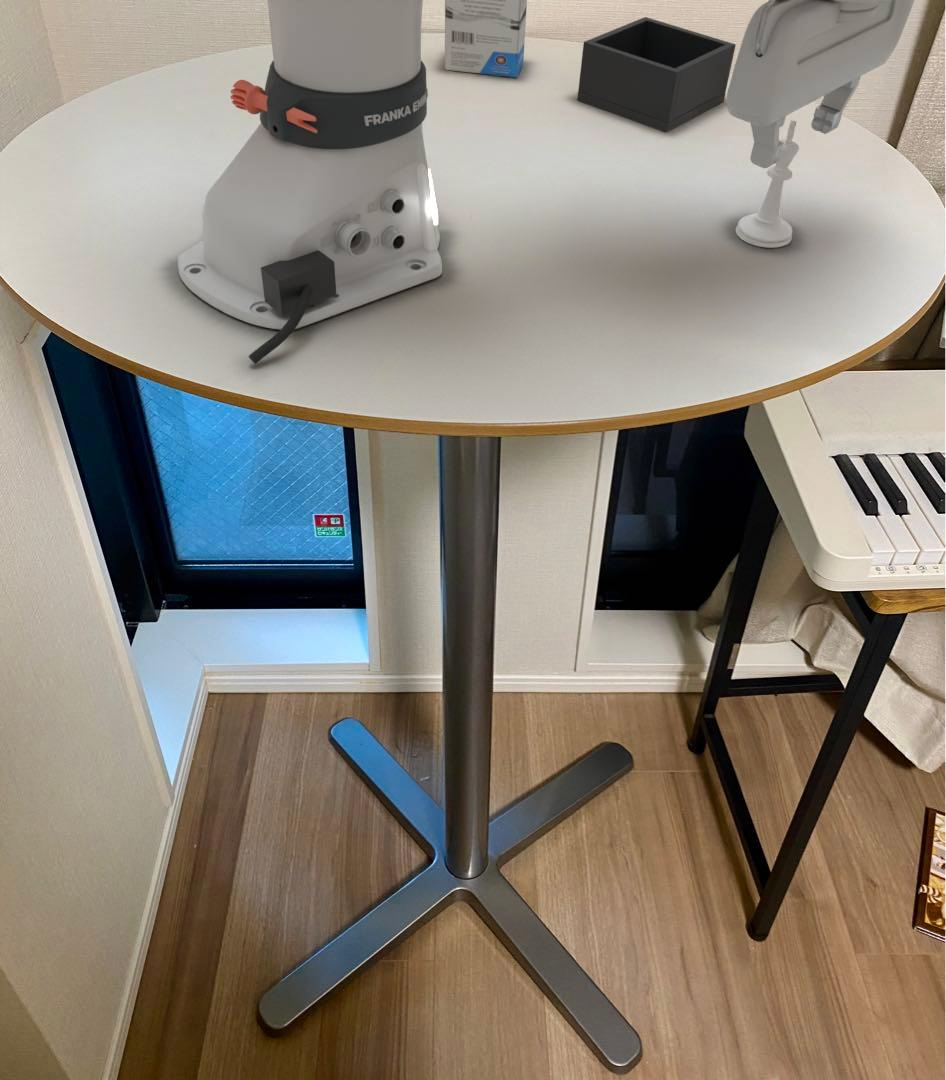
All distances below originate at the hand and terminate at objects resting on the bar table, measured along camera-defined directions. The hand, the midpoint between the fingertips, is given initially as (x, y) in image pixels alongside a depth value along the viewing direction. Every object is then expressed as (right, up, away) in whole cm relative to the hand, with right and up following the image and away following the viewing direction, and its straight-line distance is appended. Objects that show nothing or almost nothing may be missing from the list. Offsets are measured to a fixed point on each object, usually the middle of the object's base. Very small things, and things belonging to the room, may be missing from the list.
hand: (794, 146), depth 81 cm
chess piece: (0, -5, +7) cm, 9 cm away
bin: (-7, +16, +27) cm, 33 cm away
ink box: (-25, +22, +33) cm, 47 cm away
